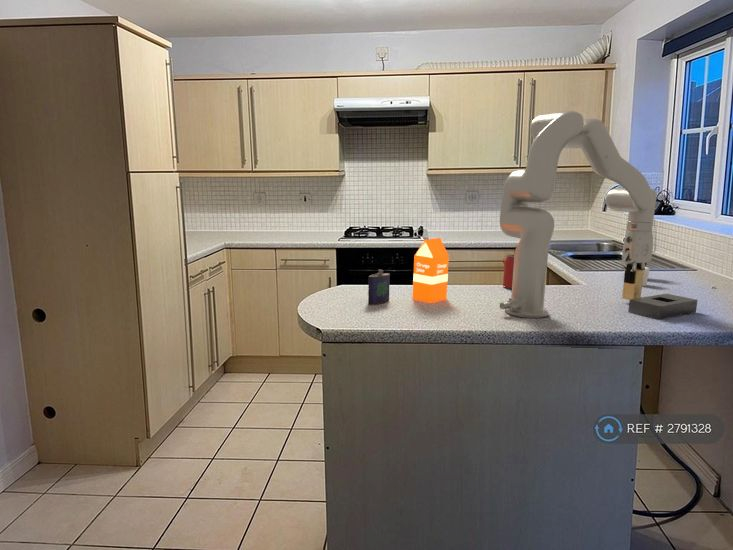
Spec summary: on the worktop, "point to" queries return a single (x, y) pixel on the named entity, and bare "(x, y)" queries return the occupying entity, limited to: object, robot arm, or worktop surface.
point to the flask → (378, 288)
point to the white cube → (645, 276)
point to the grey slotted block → (662, 306)
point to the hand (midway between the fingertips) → (633, 282)
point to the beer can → (508, 271)
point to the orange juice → (430, 272)
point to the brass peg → (633, 286)
